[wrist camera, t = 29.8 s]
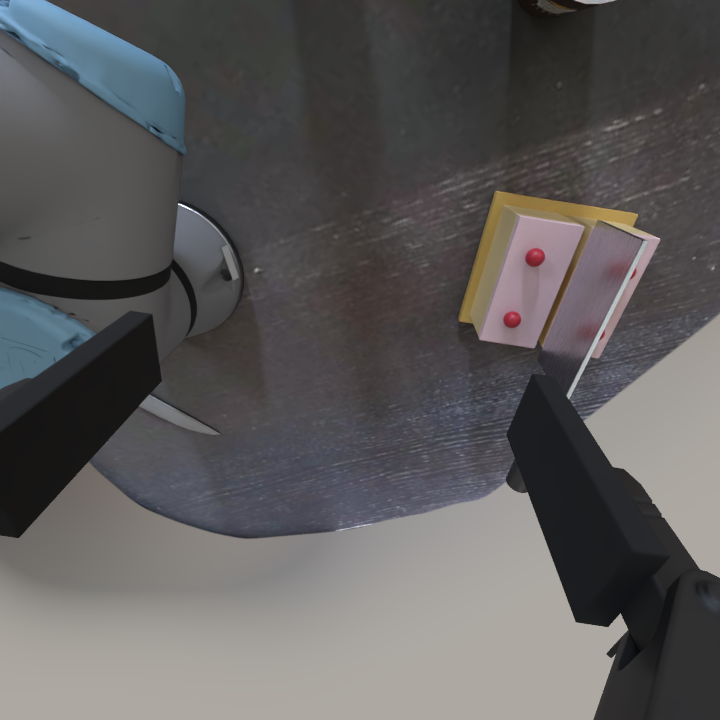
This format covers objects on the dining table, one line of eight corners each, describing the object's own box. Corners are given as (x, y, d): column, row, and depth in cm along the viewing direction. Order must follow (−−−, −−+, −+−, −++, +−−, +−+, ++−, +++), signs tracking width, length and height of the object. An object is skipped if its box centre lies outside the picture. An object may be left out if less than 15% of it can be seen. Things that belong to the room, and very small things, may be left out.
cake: (575, 336, 47) (610, 377, 39) (457, 318, 47) (470, 355, 39) (633, 212, 40) (690, 233, 32) (494, 190, 40) (519, 205, 32)
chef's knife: (213, 444, 60) (222, 433, 58) (210, 449, 59) (219, 439, 57) (89, 376, 55) (95, 362, 53) (84, 381, 54) (89, 367, 52)
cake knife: (513, 444, 45) (533, 494, 39) (493, 441, 45) (509, 491, 39) (613, 222, 33) (665, 244, 27) (585, 217, 33) (630, 238, 27)
